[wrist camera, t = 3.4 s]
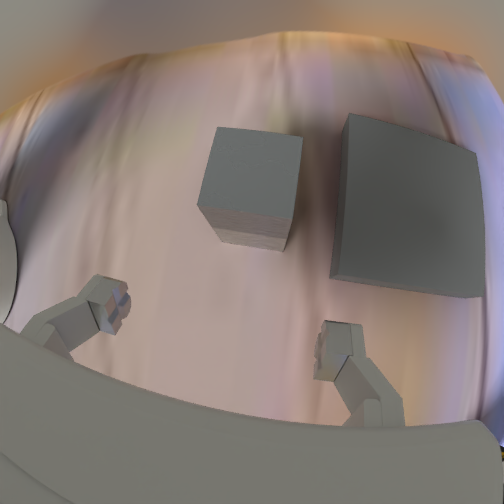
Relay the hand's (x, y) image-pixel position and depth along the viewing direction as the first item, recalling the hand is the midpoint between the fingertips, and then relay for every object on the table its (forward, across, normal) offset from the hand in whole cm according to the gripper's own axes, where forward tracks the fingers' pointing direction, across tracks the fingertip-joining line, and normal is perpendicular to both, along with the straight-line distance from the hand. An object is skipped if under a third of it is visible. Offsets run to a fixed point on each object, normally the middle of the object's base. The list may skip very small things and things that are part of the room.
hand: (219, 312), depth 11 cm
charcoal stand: (+16, -13, +1) cm, 21 cm away
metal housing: (+14, 0, +3) cm, 14 cm away
